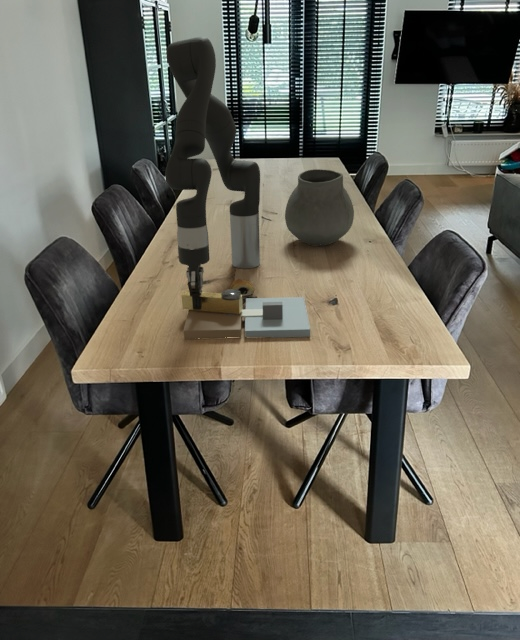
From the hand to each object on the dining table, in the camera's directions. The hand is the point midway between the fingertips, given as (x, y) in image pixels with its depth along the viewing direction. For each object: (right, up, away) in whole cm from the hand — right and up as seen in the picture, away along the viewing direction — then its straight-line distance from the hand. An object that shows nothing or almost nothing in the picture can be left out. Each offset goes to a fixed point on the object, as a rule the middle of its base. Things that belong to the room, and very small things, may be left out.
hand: (197, 308), depth 146 cm
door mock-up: (+12, -3, +3) cm, 13 cm away
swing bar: (+4, 0, +3) cm, 5 cm away
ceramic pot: (+37, +25, +61) cm, 76 cm away
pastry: (+11, +5, +21) cm, 24 cm away
